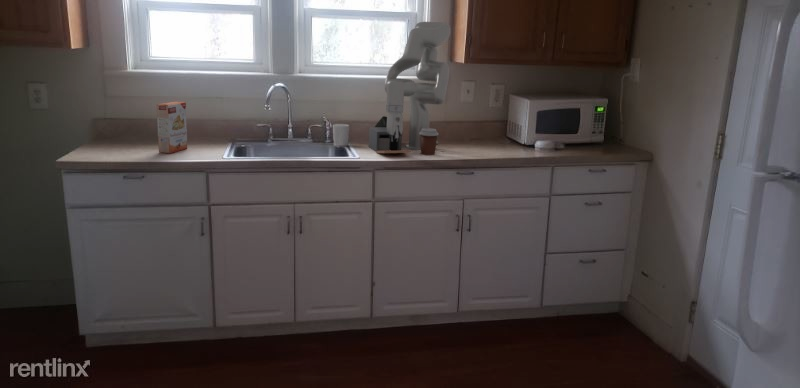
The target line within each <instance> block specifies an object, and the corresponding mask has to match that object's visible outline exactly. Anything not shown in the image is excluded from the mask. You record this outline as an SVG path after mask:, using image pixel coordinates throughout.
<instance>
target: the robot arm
mask: <svg viewBox="0 0 800 388" xmlns="http://www.w3.org/2000/svg"><path fill="white" fill-rule="evenodd" d="M451 30H452V29H451V26H450V25H449V24H448V23H447V22H445V21H420V22H417V23H416V24H415V26H414V28H412V29H411V30H410V32H409V34H408V36H407V41H406V44H405V47H404V50H403V54H402V56H401V57H400V58H399V59H398V60H397V61H395V62H394V63H393V64H392V65H391V66H390V68H389V70H388V71H387V74H386V77H385V81H384V91H385V93H386V100H385V102H386V103H385V107H386V108H385V112H386V113H387V116H386V117H387V132H388V133H389V140H390V142H389V150H388V151H394V150H397V141H398V138H399V135H402V136H403V134H404V133H403V132H404V129H403V128H404V125H403V122H404V121H403V120H404V119H403V113H404V103H405V101H404V99H405V97H408V98H409V103H410V104H409V105H410V107H409V108H410V110H409V112H410V113H409V115H410V116H409V136H408V139H409V140H408V144H406V145H405V148H406V149H407V150H411V151H421V139H420V135H419V132H421V129H423V128H430V119H431V112H430V109H429V107H428V105H441V104H444V102H445V100H446V96H447V89H448V84H449V80H450V79H449V78H450V66H449V64H448V63H447V62H445V61H438V60H437V58H438V53H439V52H438V49H437V48H438V47H439V46H441V45H442V44H444V43H446V41H448V40H449V38H450V35H451ZM413 67H416V71H415V75H416V78H417V79H418V80H420V81H423V82H415V81H414V80H413V79H408V78H407V79H406V78H398V77H399V75H400V74H401V73H403V72H404V71H406V70H409V69H411V68H413ZM424 81H425V82H424ZM429 82H435V83H429ZM398 134H399V135H398ZM438 145H439V141H438V140H437V142H436V146H438Z"/></svg>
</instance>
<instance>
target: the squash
mask: <svg viewBox="0 0 800 388" xmlns="http://www.w3.org/2000/svg"><path fill="white" fill-rule="evenodd" d="M374 127H387V116H385V115H383V116H382V117H381V118H380V119H379V120H378V121H377V123H376V124H375V126H374Z"/></svg>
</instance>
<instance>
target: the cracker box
mask: <svg viewBox="0 0 800 388" xmlns="http://www.w3.org/2000/svg"><path fill="white" fill-rule="evenodd" d="M156 118H157V119H156V122H157V140H158V143H157V144H158V153H161V154H173V153H175V152H176V153H177V152H180V151H183V150H188V133H187V132H188V130H187V128H188V127H187V125H188V124H187V102H184V101H172V102H171V101H170V102H169V101H168V102H163V103H157V104H156Z"/></svg>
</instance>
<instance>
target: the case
mask: <svg viewBox="0 0 800 388" xmlns="http://www.w3.org/2000/svg"><path fill="white" fill-rule="evenodd" d="M368 129H369V130H368V148H369V149H371V150H372V151H374V152H375V153H376V154H378V153H377V151H390V150H389V142H390V140H389V133H388V132H387V127H375V126H370V127H369V128H368ZM398 135H399V134H398ZM402 139H403V134H402V135H399V138H398V141H397V150H402V144H403V140H402Z"/></svg>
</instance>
